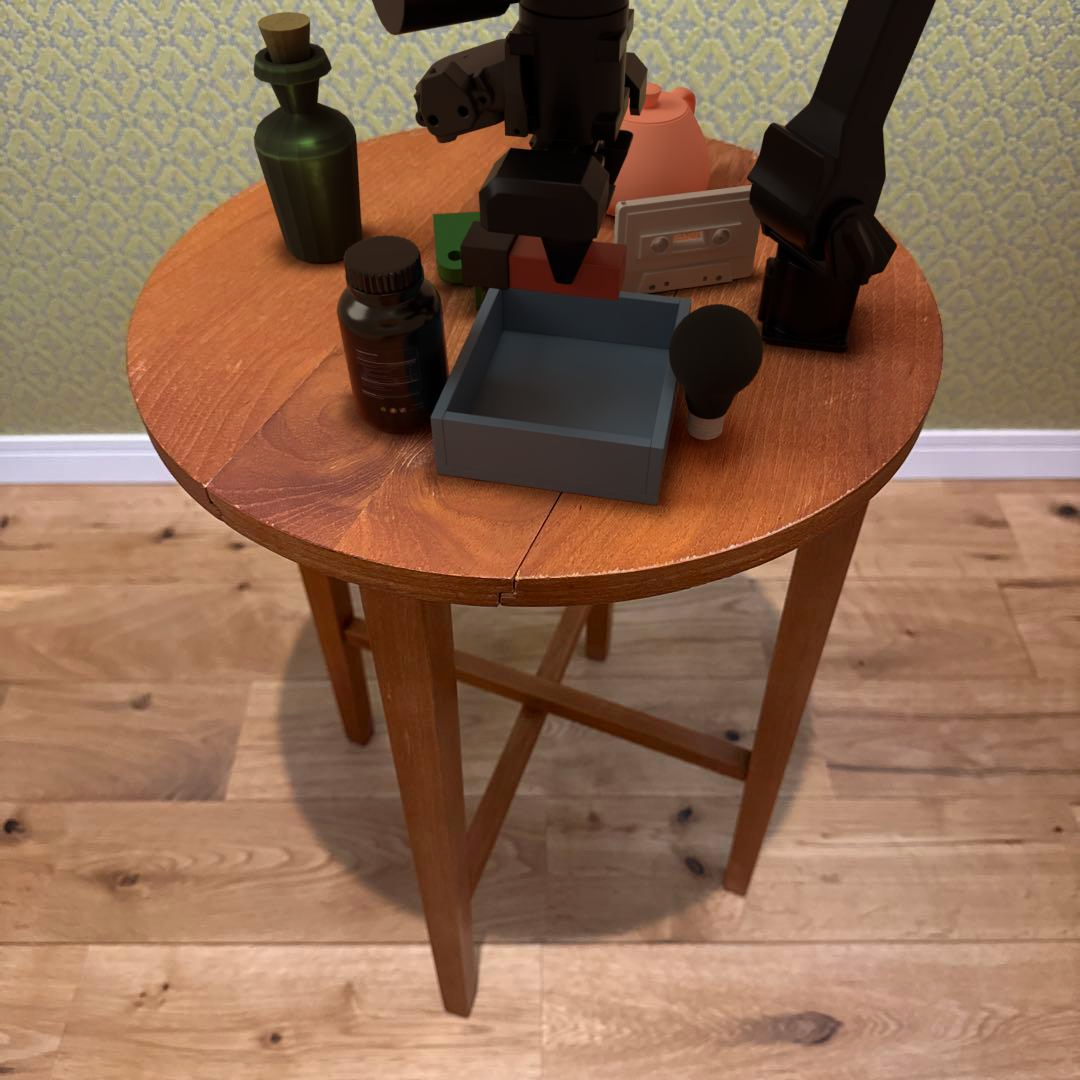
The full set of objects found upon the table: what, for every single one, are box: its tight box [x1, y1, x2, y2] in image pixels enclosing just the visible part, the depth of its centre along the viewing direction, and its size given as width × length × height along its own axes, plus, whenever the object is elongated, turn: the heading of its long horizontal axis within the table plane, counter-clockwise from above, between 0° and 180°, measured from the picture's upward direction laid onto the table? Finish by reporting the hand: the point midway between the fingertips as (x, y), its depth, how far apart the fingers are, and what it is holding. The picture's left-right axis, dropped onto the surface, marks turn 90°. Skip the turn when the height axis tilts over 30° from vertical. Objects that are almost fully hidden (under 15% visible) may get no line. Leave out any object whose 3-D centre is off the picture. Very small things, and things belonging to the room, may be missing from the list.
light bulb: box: [669, 303, 764, 441], centre depth 63 cm, size 6×6×10 cm
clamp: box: [432, 211, 487, 311], centre depth 77 cm, size 12×6×9 cm, turn 90°
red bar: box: [460, 221, 627, 301], centre depth 61 cm, size 10×3×3 cm, turn 78°
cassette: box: [613, 184, 761, 294], centre depth 77 cm, size 12×2×8 cm, turn 104°
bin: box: [430, 287, 693, 506], centre depth 67 cm, size 15×17×5 cm
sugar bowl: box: [605, 81, 711, 217], centre depth 86 cm, size 12×14×10 cm
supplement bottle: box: [336, 234, 450, 434], centre depth 64 cm, size 7×7×12 cm
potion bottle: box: [253, 11, 363, 264], centre depth 77 cm, size 8×8×18 cm
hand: (568, 269), depth 61 cm, fingers closed on red bar, 3 cm apart
